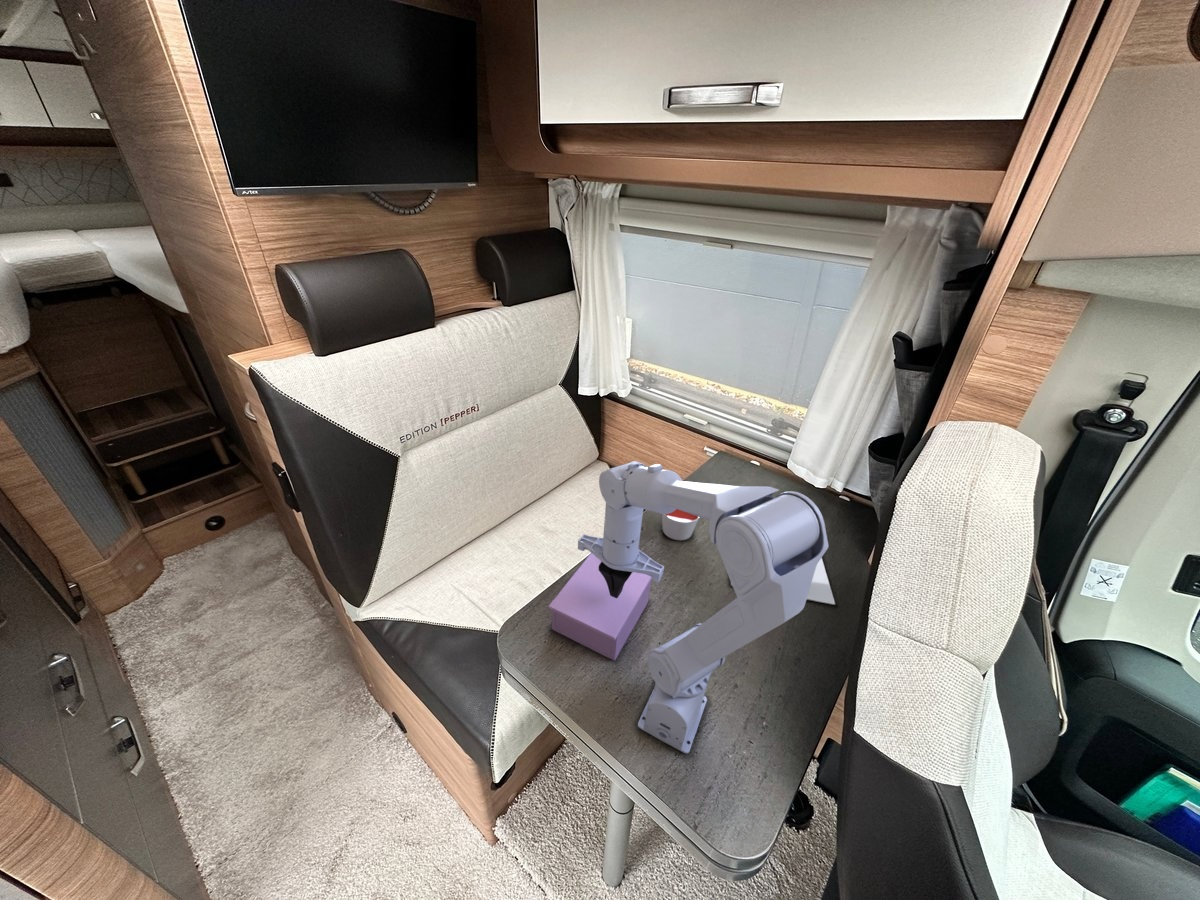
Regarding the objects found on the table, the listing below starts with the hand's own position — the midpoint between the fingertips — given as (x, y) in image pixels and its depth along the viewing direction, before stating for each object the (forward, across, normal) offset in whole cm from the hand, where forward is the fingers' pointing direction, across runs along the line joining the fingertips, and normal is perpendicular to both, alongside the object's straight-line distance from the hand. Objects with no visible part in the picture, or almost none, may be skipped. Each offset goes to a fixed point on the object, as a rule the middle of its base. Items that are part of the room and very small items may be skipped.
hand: (616, 593), depth 80 cm
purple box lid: (+3, +3, -1) cm, 4 cm away
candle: (+9, -1, -32) cm, 33 cm away
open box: (+9, +3, -2) cm, 10 cm away
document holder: (+9, -23, -34) cm, 42 cm away
